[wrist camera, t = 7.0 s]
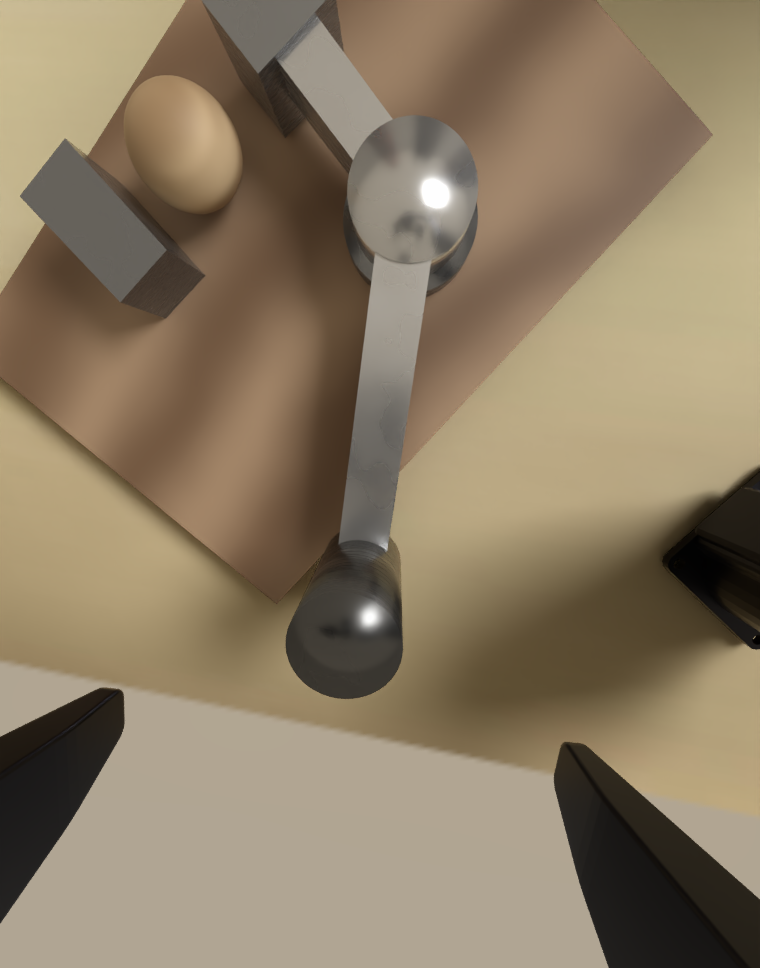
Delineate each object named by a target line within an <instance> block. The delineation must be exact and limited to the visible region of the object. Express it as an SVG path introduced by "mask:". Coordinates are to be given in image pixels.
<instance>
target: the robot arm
mask: <svg viewBox="0 0 760 968" xmlns="http://www.w3.org/2000/svg"><path fill="white" fill-rule="evenodd" d="M677 559H679V563H678V564H677V565H675V566H674V562H675V561H676V560H677ZM662 562H663V566H664V567H665V569H666V570H667V571H668V572H670V573H671V574H672V575H673V576H674V577H675V578H676V579H677V580H678V581H679V582H680V583H681V584H682V585H683V586H684V587H685V588H686V589H687V590H688V591H689V592H690V593H691V594H693V595H694V596H695V597H696V598H697V599H698V600H699V601H700V602H701V603H702V604H703V605H704V606H705V607H706V608H707V609H708V610H709V611H710V612H711V613H712V614H713V615H714V616H716V617H717V618H718V619H719V620H720V621H721V622H722V623H723V624H724V625H725V626H726V627H727V628H728V629H729V630H730V631H731V632H732V633H733V634H734V635H735V636H736V637H737V638H739V639H740V640H741V641H742V642H743V643H744V644H746V645H747V646H749V647H750V648H752V649H756V650H757V649H760V472H759V473H758V474H757V475H756V476H754V477H753V478H752V479H751V480H750V481H749V482H748V483H746V484H745V485H744V486H743V487H742V488H741V489H739V490H738V491H737V492H736V493H734V494H733V495H732V496H731V497H730V498H729V499H728V500H726V501H725V502H724V503H723V504H722V505H721V506H720V507H718V508H717V509H716V510H715V511H714V512H713V513H712V514H710V515H709V516H708V517H707V518H706V519H705V520H704V521H703V522H701V523H700V524H699V525H698V526H697V527H696V528H695V529H694V530H693V531H692V532H691V533H689V534H688V535H687V536H686V537H685V538H684V539H683V540H681V541H680V542H679V543H678V544H677V545H676V546H675V547H673V548H672V549H671V550H670V551H669V552H668V553H667V554H666V555H665V556H664V557H663V561H662ZM755 636H756V637H755ZM754 637H755V638H754ZM753 638H754V639H753ZM123 729H124V694H123V692H122V691H121V690H120V689H114V688H99V689H97V690H94V691H93V692H90V693H88V694H86V695H84V696H82V697H80V698H78V699H76V700H74V701H72V702H70V703H68V704H66V705H64V706H62V707H60V708H58V709H56V710H54V711H52V712H50V713H48V714H46V715H43V716H42V717H39V718H37V719H35V720H33V721H31V722H29V723H27V724H25V725H23V726H21V727H19V728H17V729H15V730H13V731H11V732H9V733H7V734H5V735H3V736H1V737H0V923H1V922H2V920H3V919H4V917H5V916H6V915H7V913H8V912H9V910H10V909H11V907H12V906H13V904H14V903H15V902H16V900H17V899H18V897H19V896H20V894H21V893H22V891H23V890H24V888H25V887H26V886H27V884H28V883H29V881H30V880H31V878H32V877H33V876H34V874H35V872H36V871H37V870H38V868H39V867H40V866H41V864H42V862H43V861H44V860H45V858H46V857H47V855H48V854H49V853H50V851H51V850H52V848H53V847H54V845H55V844H56V842H57V841H58V840H59V838H60V837H61V835H62V834H63V832H64V831H65V829H66V828H67V826H68V825H69V823H70V822H71V820H72V819H73V817H74V815H75V814H76V812H77V810H78V809H79V807H80V806H81V804H82V802H83V800H84V799H85V797H86V795H87V793H88V792H89V790H90V788H91V787H92V785H93V783H94V781H95V780H96V778H97V776H98V775H99V773H100V771H101V769H102V768H103V766H104V764H105V763H106V761H107V759H108V757H109V756H110V754H111V752H112V750H113V749H114V747H115V745H116V744H117V742H118V740H119V738H120V736H121V734H122V732H123ZM554 786H555V791H556V795H557V799H558V802H559V807H560V811H561V814H562V818H563V822H564V826H565V830H566V834H567V838H568V841H569V845H570V849H571V853H572V857H573V861H574V865H575V869H576V872H577V875H578V879H579V883H580V886H581V889H582V892H583V895H584V898H585V901H586V904H587V907H588V910H589V912H590V915H591V918H592V921H593V924H594V927H595V930H596V933H597V935H598V938H599V941H600V944H601V947H602V950H603V953H604V956H605V958H606V961H607V964H608V967H609V968H760V899H759V898H758V897H756V896H755V895H754V894H753V893H752V892H751V891H750V890H749V889H747V888H746V887H745V886H744V885H743V884H742V883H741V882H739V881H738V880H737V879H736V878H735V877H734V876H733V875H732V874H730V873H729V872H728V871H727V870H726V869H725V868H723V866H721V865H720V864H719V863H718V862H717V861H716V860H715V859H713V858H712V857H711V856H710V855H709V854H708V853H707V852H706V851H704V850H703V849H702V848H701V847H700V846H699V845H698V844H696V843H695V842H694V841H693V840H692V839H691V838H690V837H689V836H688V835H686V834H685V833H684V832H683V831H682V830H681V829H679V827H677V826H676V825H675V824H674V823H673V822H672V821H671V820H669V819H668V818H667V817H666V816H665V815H664V814H663V813H662V812H660V811H659V810H658V809H657V808H656V807H655V806H654V805H653V804H651V803H650V802H649V801H648V800H647V799H646V798H645V797H644V796H642V795H641V794H640V793H639V792H638V791H637V790H636V789H635V788H633V787H632V786H631V785H630V784H629V783H628V782H627V781H626V780H624V779H623V778H622V777H621V776H620V775H619V774H618V773H616V772H615V771H614V770H613V769H612V768H611V767H610V766H609V765H607V764H606V763H605V762H604V761H603V760H602V759H601V758H600V757H598V756H597V755H596V754H595V753H594V752H593V751H592V750H591V749H589V748H588V747H587V746H586V745H584V744H581V743H572V742H564V743H563V744H562V745H561V748H560V751H559V756H558V760H557V764H556V769H555V773H554Z"/></svg>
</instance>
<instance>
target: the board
mask: <svg viewBox="0 0 760 968" xmlns="http://www.w3.org/2000/svg"><path fill="white" fill-rule="evenodd" d="M336 2H337V9H338V15H339V22H340V29H341V35H342V42H343V49H344V53H345V55H346V56H347V58H348V59H349V60H350V62H351V63H352V64H353V66H354V67H355V68H356V70H357V71H358V73H359V74H360V75H361V77H362V78H363V79H364V81H365V82H366V83H367V85H368V86H369V87H370V89H371V90H372V92H373V93H374V94H375V96H376V97H377V98H378V100H379V101H380V102H381V104H382V105H383V107H384V108H385V109H386V111H387V112H388V113H389V115H390V116H391V117H392V119H395V118H399V117H403V116H410V115H419V116H426V117H431V118H434V119H436V120H439V121H441V122H443V123H445V124H446V125H448V126H449V127H451V128H452V129H453V130H454V131H455V132H456V133H457V134H458V135H459V136H460V137H461V138H462V139H463V141H464V142H465V143H466V145H467V147H468V148H469V150H470V152H471V154H472V157H473V159H474V162H475V166H476V170H477V177H478V195H477V209H478V224H477V231H476V236H475V239H474V242H473V245H472V248H471V250H470V252H469V254H468V256H467V258H466V261H465V263H464V264H463V266H462V268H461V270H460V271H459V272H458V274H457V275H456V276H455V278H454V279H453V280H452V281H451V282H450V283H449V284H448V285H446V286H445V287H444V288H443V289H441V290H440V291H438V292H436V293H435V294H432V295H430V296H428V297H426V298H425V305H424V312H423V318H422V325H421V331H420V338H419V344H418V351H417V358H416V364H415V371H414V377H413V384H412V390H411V397H410V404H409V410H408V417H407V423H406V430H405V436H404V443H403V450H402V456H401V463H400V469H399V472H400V471H401V470H402V469H403V468H404V466H405V465H406V464H407V463H408V462H409V461H410V460H411V459H412V458H413V457H414V456H415V455H416V454H417V452H418V451H419V450H420V449H421V448H422V447H423V446H424V445H425V444H426V443H427V442H428V441H429V440H430V438H431V437H432V436H433V435H434V434H435V433H436V432H437V431H438V430H439V429H440V428H441V427H442V426H443V425H444V423H445V422H446V421H447V420H448V419H449V418H450V417H451V416H452V415H453V414H454V413H455V412H456V411H457V409H458V408H459V407H460V406H461V405H462V404H463V403H464V402H465V401H466V400H467V399H468V398H469V397H470V395H471V394H472V393H473V392H474V391H475V390H476V389H477V388H478V387H479V386H480V385H481V384H482V383H483V381H484V380H485V379H486V378H487V377H488V376H489V375H490V374H491V373H492V372H493V371H494V370H495V369H496V368H497V366H498V365H499V364H500V363H501V362H502V361H503V360H504V359H505V358H506V357H507V356H508V355H509V354H510V352H511V351H512V350H513V349H514V348H515V347H516V346H517V345H518V344H519V343H520V342H521V341H522V340H523V338H524V337H525V336H526V335H527V334H528V333H529V332H530V331H531V330H532V329H533V328H534V327H535V326H536V324H537V323H538V322H539V321H540V320H541V319H542V318H543V317H544V316H545V315H546V314H547V313H548V312H549V311H550V309H551V308H552V307H553V306H554V305H555V304H556V303H557V302H558V301H559V300H560V299H561V298H562V297H563V295H564V294H565V293H566V292H567V291H568V290H569V289H570V288H571V287H572V286H573V285H574V284H575V283H576V281H577V280H578V279H579V278H580V277H581V276H582V275H583V274H584V273H585V272H586V271H587V270H588V269H589V267H590V266H591V265H592V264H593V263H594V262H595V261H596V260H597V259H598V258H599V257H600V256H601V255H602V254H603V252H604V251H605V250H606V249H607V248H608V247H609V246H610V245H611V244H612V243H613V242H614V241H615V240H616V238H617V237H618V236H619V235H620V234H621V233H622V232H623V231H624V230H625V229H626V228H627V227H628V226H629V224H630V223H631V222H632V221H633V220H634V219H635V218H636V217H637V216H638V215H639V214H640V213H641V212H642V210H643V209H644V208H645V207H646V206H647V205H648V204H649V203H650V202H651V201H652V200H653V199H654V198H655V197H656V195H657V194H658V193H659V192H660V191H661V190H662V189H663V188H664V187H665V186H666V185H667V184H668V183H669V181H670V180H671V179H672V178H673V177H674V176H675V175H676V174H677V173H678V172H679V171H680V170H681V169H682V167H683V166H684V165H685V164H686V163H687V162H688V161H689V160H690V159H691V158H692V157H693V156H694V155H695V153H696V152H697V151H698V150H699V149H700V148H701V147H702V146H703V145H704V144H705V143H706V142H707V141H708V140H709V138H710V137H711V136H712V135H713V134H712V133H711V132H710V130H709V129H708V128H707V127H706V126H705V125H704V124H703V122H702V121H701V120H700V119H699V118H698V117H697V116H696V114H695V113H694V112H693V111H692V110H691V109H690V108H689V106H688V105H687V104H686V103H685V102H684V101H683V100H682V98H681V97H680V96H679V95H678V94H677V93H676V92H675V90H674V89H673V88H672V87H671V86H670V85H669V84H668V82H667V81H666V80H665V79H664V78H663V77H662V76H661V74H660V73H659V72H658V71H657V70H656V69H655V68H654V66H653V65H652V64H651V63H650V62H649V61H648V60H647V58H646V57H645V56H644V55H643V54H642V53H641V52H640V51H639V49H638V48H637V47H636V46H635V45H634V44H633V43H632V41H631V40H630V39H629V38H628V37H627V36H626V35H625V33H624V32H623V31H622V30H621V29H620V28H619V27H618V25H617V24H616V23H615V22H614V21H613V20H612V19H611V17H610V16H609V15H608V14H607V13H606V12H605V11H604V9H603V8H602V7H601V6H600V5H599V4H598V3H597V1H596V0H336ZM161 75H173V76H178V77H182V78H185V79H188V80H190V81H192V82H194V83H196V84H197V85H199V86H201V87H202V88H204V89H205V90H206V91H207V92H209V93H210V94H211V95H212V96H213V97H214V98H215V99H216V100H217V101H218V102H219V103H220V104H221V106H222V107H223V109H224V110H225V111H226V113H227V114H228V116H229V118H230V119H231V121H232V123H233V125H234V127H235V130H236V132H237V135H238V138H239V142H240V145H241V150H242V160H243V169H242V177H241V181H240V184H239V187H238V190H237V192H236V194H235V195H234V197H233V198H232V199H231V201H230V202H229V203H228V204H227V205H226V206H224V207H223V208H221V209H220V210H217V211H215V212H212V213H209V214H191V213H186V212H182V211H180V210H177V209H175V208H173V207H171V206H169V205H168V204H166V203H165V202H163V201H162V200H161V199H159V198H158V197H157V196H156V195H155V194H154V193H153V192H152V191H151V190H150V189H149V188H148V187H147V186H146V185H145V183H144V182H143V181H142V179H141V178H140V176H139V175H138V173H137V171H136V170H135V168H134V166H133V164H132V161H131V159H130V157H129V154H128V151H127V147H126V143H125V138H124V114H125V109H126V106H127V103H128V101H129V99H130V97H131V95H132V93H133V92H134V91H135V89H136V88H137V87H138V86H139V85H140V84H142V83H143V82H144V81H146V80H148V79H150V78H153V77H155V76H161ZM88 157H89V158H91V159H92V160H93V161H94V162H96V163H97V164H98V165H99V166H101V167H102V168H103V169H104V170H106V171H107V172H108V173H109V174H111V175H112V176H113V177H114V178H116V179H117V180H118V181H119V182H121V183H122V184H123V185H124V186H125V187H126V188H127V189H128V190H129V191H130V193H131V194H132V195H133V196H134V197H135V198H136V199H137V200H138V201H139V202H140V204H141V205H142V206H143V207H144V208H145V209H146V210H147V211H148V212H149V214H150V215H151V216H152V217H153V218H154V219H155V220H156V221H157V222H158V223H159V225H160V226H161V227H162V228H163V229H164V230H165V231H166V232H167V233H168V235H169V236H170V237H171V238H172V239H173V240H174V241H175V242H176V243H177V244H178V246H179V247H180V248H181V249H182V250H183V251H184V252H185V253H186V254H187V256H188V257H189V258H190V259H191V260H192V261H193V262H194V263H195V264H196V265H197V267H198V268H199V269H200V270H201V271H202V272H203V273H204V274H205V275H206V276H205V277H204V278H203V279H202V280H201V281H200V282H199V283H198V284H197V285H196V286H195V288H194V289H193V290H192V291H191V292H190V293H189V294H188V295H187V296H186V297H185V298H184V299H183V301H182V302H181V303H180V304H179V305H178V306H177V307H176V308H175V309H174V310H173V311H172V313H171V314H170V315H169V316H168V317H167V318H166V319H165V318H163V317H160V316H157V315H154V314H151V313H149V312H146V311H143V310H140V309H137V308H135V307H132V306H129V305H126V304H123V303H121V302H119V300H118V299H117V298H116V297H115V296H114V295H113V294H112V293H111V292H110V291H109V290H108V289H107V288H106V287H105V286H104V285H103V284H102V283H101V281H100V280H99V279H98V278H97V277H96V276H95V275H94V274H93V273H92V272H91V271H90V270H89V269H88V268H87V267H86V266H85V265H84V264H83V262H82V261H81V260H80V259H79V258H78V257H77V256H76V255H75V254H74V253H73V252H72V251H71V250H70V249H69V248H68V247H67V246H66V245H65V243H64V242H63V241H62V240H61V239H60V238H59V237H58V236H57V235H56V234H55V233H54V232H53V231H52V230H51V229H50V228H49V227H48V226H47V224H46V223H45V224H44V226H43V228H42V229H41V231H40V232H39V234H38V236H37V237H36V239H35V240H34V242H33V243H32V245H31V247H30V248H29V250H28V251H27V253H26V255H25V256H24V258H23V259H22V261H21V262H20V264H19V266H18V267H17V269H16V270H15V272H14V274H13V275H12V277H11V278H10V280H9V281H8V283H7V285H6V286H5V288H4V289H3V291H2V293H1V294H0V377H1V378H2V379H3V380H4V381H6V382H7V383H8V384H9V385H10V386H12V387H13V388H14V389H15V390H16V391H18V392H19V393H20V394H21V395H23V396H24V397H25V398H26V399H27V400H29V401H30V402H31V403H32V404H34V405H35V406H36V407H37V408H38V409H40V410H41V411H42V412H43V413H45V414H46V415H47V416H48V417H49V418H51V419H52V420H53V421H54V422H55V423H57V424H58V425H59V426H60V427H62V428H63V429H64V430H65V431H66V432H68V433H69V434H70V435H71V436H73V437H74V438H75V439H76V440H77V441H79V442H80V443H81V444H82V445H83V446H85V447H86V448H87V449H88V450H90V451H91V452H92V453H93V454H94V455H96V456H97V457H98V458H99V459H101V460H102V461H103V462H104V463H105V464H107V465H108V466H109V467H110V468H112V469H113V470H114V471H115V472H116V473H118V474H119V475H120V476H121V477H122V478H124V479H125V480H126V481H127V482H129V483H130V484H131V485H132V486H133V487H135V488H136V489H137V490H138V491H140V492H141V493H142V494H143V495H144V496H146V497H147V498H148V499H149V500H150V501H152V502H153V503H154V504H155V505H157V506H158V507H159V508H160V509H161V510H163V511H164V512H165V513H166V514H168V515H169V516H170V517H171V518H172V519H174V520H175V521H176V522H177V523H179V524H180V525H181V526H182V527H183V528H185V529H186V530H187V531H188V532H189V533H191V534H192V535H193V536H194V537H196V538H197V539H198V540H199V541H200V542H202V543H203V544H204V545H205V546H207V547H208V548H209V549H210V550H211V551H213V552H214V553H215V554H216V555H217V556H219V557H220V558H221V559H222V560H224V561H225V562H226V563H227V564H228V565H230V566H231V567H232V568H233V569H235V570H236V571H237V572H238V573H239V574H241V575H242V576H243V577H244V578H246V579H247V580H248V581H249V582H250V583H252V584H253V585H254V586H255V587H256V588H258V589H259V590H260V591H261V592H263V593H264V594H265V595H266V596H267V597H269V598H270V599H271V600H272V601H274V602H275V603H276V604H277V603H278V602H279V601H280V600H281V599H282V598H283V597H284V596H285V594H286V593H287V592H288V591H289V590H290V589H291V588H292V587H293V586H294V585H295V584H296V583H297V582H298V580H299V579H300V578H301V577H302V576H303V575H304V574H305V573H306V572H307V571H308V570H309V569H310V568H311V566H312V565H313V564H314V563H315V562H316V561H317V560H318V559H319V558H320V557H321V556H322V555H323V554H324V552H325V550H326V547H327V545H328V544H329V542H330V541H331V539H332V538H333V537H334V536H335V535H336V534H337V533H339V532H340V528H341V520H342V512H343V504H344V496H345V488H346V480H347V472H348V464H349V456H350V448H351V440H352V432H353V425H354V417H355V409H356V401H357V393H358V385H359V377H360V369H361V361H362V353H363V345H364V337H365V329H366V321H367V313H368V305H369V298H370V290H371V286H370V285H368V284H367V283H366V282H365V281H364V279H363V278H362V277H361V276H360V274H359V273H358V271H357V270H356V268H355V266H354V264H353V262H352V259H351V257H350V254H349V251H348V247H347V244H346V240H345V236H344V229H343V212H344V205H345V201H346V196H347V184H348V177H349V175H348V173H347V172H346V171H345V169H344V168H343V167H342V165H341V164H340V163H339V162H338V160H337V159H336V158H335V156H334V155H333V154H332V152H331V151H330V150H329V148H328V147H327V146H326V145H325V143H324V142H323V141H322V139H321V138H320V137H319V135H318V134H317V133H316V132H315V130H314V129H313V128H312V126H311V125H310V124H309V122H308V121H307V120H306V118H304V119H303V121H302V122H301V123H300V124H299V125H298V126H297V127H296V128H295V129H294V130H293V131H292V132H291V133H290V134H289V135H288V136H287V137H286V138H285V137H284V136H283V135H282V133H281V132H280V131H279V129H278V128H277V127H276V126H275V124H274V123H273V122H272V120H271V119H270V118H269V117H268V115H267V114H266V113H265V111H264V110H263V109H262V108H261V106H260V105H259V104H258V102H257V101H256V100H255V99H254V97H253V96H252V95H251V93H250V92H249V91H248V90H247V88H246V87H245V86H244V84H243V83H242V82H241V81H240V79H239V77H238V75H237V72H236V70H235V68H234V66H233V64H232V62H231V60H230V58H229V56H228V54H227V52H226V50H225V48H224V46H223V44H222V42H221V40H220V38H219V35H218V33H217V31H216V29H215V27H214V25H213V23H212V21H211V19H210V17H209V15H208V13H207V11H206V9H205V7H204V5H203V3H202V1H201V0H186V1H185V3H184V4H183V6H182V8H181V9H180V11H179V12H178V14H177V15H176V17H175V19H174V20H173V22H172V23H171V25H170V27H169V28H168V30H167V31H166V33H165V34H164V36H163V38H162V39H161V41H160V42H159V44H158V46H157V47H156V49H155V50H154V52H153V53H152V55H151V57H150V58H149V60H148V61H147V63H146V65H145V66H144V68H143V69H142V71H141V72H140V74H139V76H138V77H137V79H136V80H135V82H134V84H133V85H132V87H131V88H130V90H129V91H128V93H127V95H126V96H125V98H124V99H123V101H122V103H121V104H120V106H119V107H118V109H117V110H116V112H115V114H114V115H113V117H112V118H111V120H110V122H109V123H108V125H107V126H106V128H105V129H104V131H103V133H102V134H101V136H100V137H99V139H98V141H97V142H96V144H95V145H94V147H93V148H92V150H91V152H90V153H89V155H88Z"/></svg>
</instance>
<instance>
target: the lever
mask: <svg viewBox="0 0 760 968" xmlns="http://www.w3.org/2000/svg"><path fill="white" fill-rule="evenodd" d="M201 1H202V3H203V5H204V7H205V9H206V11H207V13H208V15H209V17H210V19H211V21H212V23H213V25H214V27H215V29H216V31H217V33H218V35H219V38H220V40H221V42H222V44H223V46H224V48H225V50H226V52H227V54H228V56H229V58H230V60H231V62H232V64H233V66H234V68H235V70H236V72H237V75H238V77H239V79H240V81H241V82H242V83H243V84H244V86H245V87H246V88H247V90H248V91H249V92H250V93H251V95H252V96H253V97H254V99H255V100H256V101H257V102H258V104H259V105H260V106H261V108H262V109H263V110H264V111H265V113H266V114H267V115H268V117H269V118H270V119H271V120H272V122H273V123H274V124H275V126H276V127H277V128H278V129H279V131H280V132H281V133H282V135H283V136H284V137H285V138H286V137H287V136H288V135H289V134H290V133H291V132H292V131H293V130H294V129H295V128H296V127H297V126H298V125H299V124H300V123H301V122H302V121H303V119H304V118H306V120H307V121H308V122H309V124H310V125H311V126H312V128H313V129H314V130H315V132H316V133H317V134H318V135H319V137H320V138H321V139H322V141H323V142H324V143H325V145H326V146H327V147H328V148H329V150H330V151H331V152H332V154H333V155H334V156H335V158H336V159H337V160H338V162H339V163H340V164H341V165H342V167H343V168H344V169H345V171H346V172H347V173H348V175H349V177H348V184H347V197H348V205H349V211H350V215H351V219H352V223H353V227H354V231H355V235H356V238H357V241H358V243H359V246H360V248H361V250H362V251H363V253H364V255H365V256H366V257H367V258H368V260H369V261H370V262H371V263H372V264H373V265H374V266H373V274H372V282H371V290H370V298H369V305H368V313H367V321H366V329H365V337H364V345H363V353H362V361H361V369H360V377H359V385H358V393H357V401H356V409H355V417H354V425H353V432H352V440H351V448H350V456H349V464H348V472H347V480H346V488H345V496H344V504H343V512H342V520H341V528H340V532H339V533H337V534H336V535H335V536H334V537H333V538H332V539H331V541H330V542H329V544H328V545H327V547H326V550H325V552H324V554H323V556H322V558H321V560H320V562H319V564H318V566H317V568H316V570H315V573H314V575H313V577H312V579H311V581H310V583H309V585H308V587H307V589H306V591H305V593H304V596H303V598H302V600H301V602H300V604H299V606H298V608H297V610H296V612H295V614H294V616H293V619H292V621H291V623H290V625H289V628H288V631H287V635H286V653H287V656H288V660H289V662H290V665H291V667H292V668H293V670H294V672H295V673H296V674H297V676H298V677H299V678H300V679H301V680H302V681H303V682H304V683H305V684H306V685H307V686H309V687H310V688H312V689H313V690H315V691H317V692H319V693H321V694H324V695H327V696H330V697H334V698H341V699H353V698H360V697H363V696H367V695H369V694H372V693H374V692H376V691H378V690H379V689H381V688H382V687H384V686H385V685H386V684H387V683H388V682H389V681H390V680H391V679H392V678H393V676H394V675H395V673H396V672H397V670H398V668H399V665H400V663H401V659H402V652H403V638H402V599H401V561H400V554H399V551H398V548H397V546H396V544H395V543H394V541H393V540H392V539H391V538H390V537H389V535H390V528H391V522H392V515H393V509H394V502H395V496H396V489H397V482H398V476H399V469H400V463H401V456H402V450H403V443H404V436H405V430H406V423H407V417H408V410H409V404H410V397H411V390H412V384H413V377H414V371H415V364H416V358H417V351H418V344H419V338H420V331H421V325H422V318H423V312H424V305H425V298H426V292H427V285H428V279H429V274H432V273H434V272H435V271H437V270H439V269H440V268H442V267H443V266H444V265H445V264H446V263H447V262H449V261H450V259H451V258H452V257H453V256H454V255H455V253H456V252H457V250H458V248H459V247H460V245H461V243H462V241H463V238H464V236H465V233H466V231H467V228H468V226H469V224H470V221H471V219H472V216H473V213H474V210H475V206H476V202H477V195H478V177H477V170H476V166H475V162H474V159H473V157H472V154H471V152H470V150H469V148H468V147H467V145H466V143H465V142H464V141H463V139H462V138H461V137H460V136H459V135H458V134H457V133H456V132H455V131H454V130H453V129H452V128H451V127H449V126H448V125H446V124H445V123H443V122H441V121H439V120H436V119H434V118H431V117H426V116H419V115H410V116H403V117H399V118H395V119H392V117H391V116H390V115H389V113H388V112H387V111H386V109H385V108H384V107H383V105H382V104H381V102H380V101H379V100H378V98H377V97H376V96H375V94H374V93H373V92H372V90H371V89H370V87H369V86H368V85H367V83H366V82H365V81H364V79H363V78H362V77H361V75H360V74H359V73H358V71H357V70H356V68H355V67H354V66H353V64H352V63H351V62H350V60H349V59H348V58H347V56H346V55H345V53H344V49H343V42H342V35H341V29H340V22H339V15H338V9H337V2H336V0H201Z"/></svg>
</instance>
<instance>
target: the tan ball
mask: <svg viewBox="0 0 760 968" xmlns="http://www.w3.org/2000/svg"><path fill="white" fill-rule="evenodd" d="M124 138H125V143H126V147H127V151H128V154H129V157H130V159H131V161H132V164H133V166H134V168H135V170H136V171H137V173H138V175H139V176H140V178H141V179H142V181H143V182H144V183H145V185H146V186H147V187H148V188H149V189H150V190H151V191H152V192H153V193H154V194H155V195H156V196H157V197H158V198H159V199H161V200H162V201H163V202H165V203H166V204H168V205H169V206H171V207H173V208H175V209H177V210H180V211H182V212H186V213H191V214H209V213H212V212H215V211H217V210H220V209H221V208H223V207H224V206H226V205H227V204H228V203H229V202H230V201H231V199H232V198H233V197H234V195H235V194H236V192H237V190H238V187H239V184H240V181H241V177H242V169H243V160H242V150H241V145H240V142H239V138H238V135H237V132H236V130H235V127H234V125H233V123H232V121H231V119H230V118H229V116H228V114H227V113H226V111H225V110H224V109H223V107H222V106H221V104H220V103H219V102H218V101H217V100H216V99H215V98H214V97H213V96H212V95H211V94H210V93H209V92H207V91H206V90H205V89H204V88H202V87H201V86H199V85H197V84H196V83H194V82H192V81H190V80H188V79H185V78H182V77H178V76H173V75H161V76H155V77H153V78H150V79H148V80H146V81H144V82H143V83H142V84H140V85H139V86H138V87H137V88H136V89H135V91H134V92H133V93H132V95H131V97H130V99H129V101H128V103H127V106H126V109H125V114H124Z"/></svg>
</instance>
